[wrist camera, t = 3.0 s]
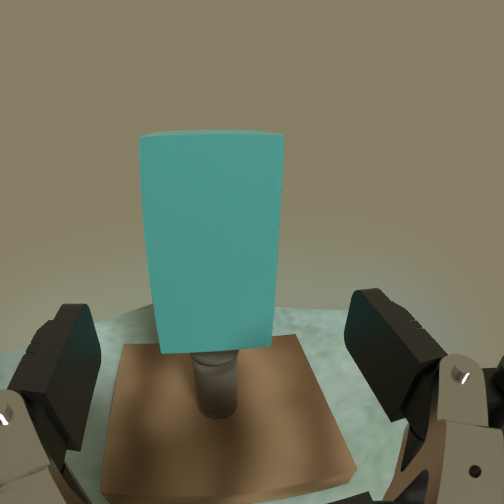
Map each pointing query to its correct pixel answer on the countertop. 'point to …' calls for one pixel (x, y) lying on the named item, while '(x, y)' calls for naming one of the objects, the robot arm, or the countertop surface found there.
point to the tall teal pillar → (212, 236)
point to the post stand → (220, 428)
